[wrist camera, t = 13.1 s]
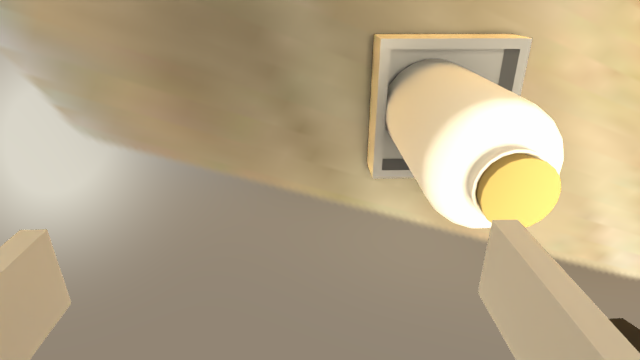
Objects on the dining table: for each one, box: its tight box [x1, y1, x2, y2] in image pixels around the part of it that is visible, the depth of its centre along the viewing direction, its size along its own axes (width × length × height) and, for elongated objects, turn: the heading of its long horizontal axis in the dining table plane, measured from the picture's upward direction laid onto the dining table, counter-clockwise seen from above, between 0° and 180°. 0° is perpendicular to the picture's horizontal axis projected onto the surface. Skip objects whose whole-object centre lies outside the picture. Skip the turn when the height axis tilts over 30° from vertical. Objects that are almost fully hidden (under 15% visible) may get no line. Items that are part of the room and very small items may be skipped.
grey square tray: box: [367, 34, 532, 179], centre depth 36 cm, size 12×12×4 cm
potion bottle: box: [385, 59, 564, 228], centre depth 29 cm, size 8×8×18 cm
